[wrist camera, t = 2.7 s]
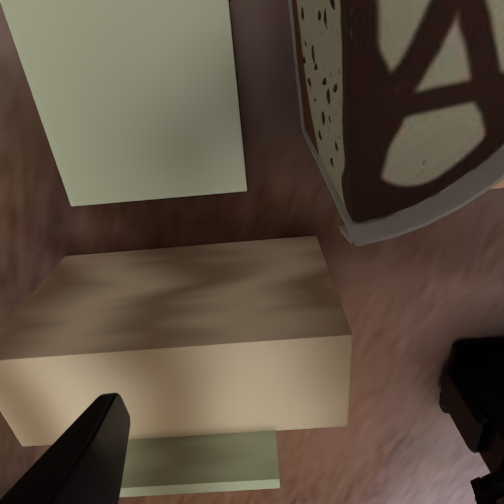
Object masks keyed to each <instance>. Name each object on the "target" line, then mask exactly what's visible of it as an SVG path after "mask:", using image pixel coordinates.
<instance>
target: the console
mask: <svg viewBox="0 0 504 504" xmlns="http://www.w3.org/2000/svg"><path fill="white" fill-rule="evenodd" d="M351 350H352V333H351V330H350V327H349V324H348V322H347V319H346V316H345V313H344V311H343V308H342V305H341V302H340V300H339V297H338V294H337V291H336V289H335V286H334V283H333V280H332V278H331V275H330V272H329V269H328V267H327V264H326V261H325V258H324V256H323V253H322V250H321V247H320V245H319V242H318V239H317V237H316V236H304V237H292V238H280V239H267V240H255V241H243V242H231V243H219V244H207V245H194V246H182V247H170V248H158V249H146V250H133V251H121V252H109V253H97V254H85V255H72V256H65V257H64V258H63V259H62V260H61V262H60V263H59V264H58V265H57V266H56V267H55V268H54V269H53V271H52V272H51V273H50V274H49V275H48V276H47V277H46V278H45V279H44V281H43V282H42V283H41V284H40V285H39V286H38V287H37V288H36V289H35V291H34V292H33V293H32V294H31V295H30V296H29V297H28V298H27V299H26V301H25V302H24V303H23V304H22V305H21V306H20V307H19V308H18V309H17V311H16V312H15V313H14V314H13V315H12V316H11V317H10V318H9V319H8V321H7V322H6V323H5V324H4V325H3V326H2V327H1V328H0V411H1V413H2V415H3V416H4V418H5V419H6V421H7V422H8V424H9V426H10V427H11V429H12V430H13V432H14V434H15V435H16V437H17V438H18V440H19V442H20V443H21V445H22V446H39V445H52V444H53V443H54V442H55V441H56V440H57V439H58V438H59V437H60V436H61V435H62V434H63V433H64V432H65V431H66V430H67V429H68V428H69V427H70V425H71V424H72V423H73V422H74V421H75V420H76V419H77V418H78V417H79V416H80V415H81V414H82V413H83V412H84V411H85V410H86V409H87V408H88V407H89V406H90V404H91V403H92V402H93V401H94V400H95V399H96V398H97V397H98V396H100V395H102V394H107V393H119V394H120V395H121V397H122V399H123V402H124V404H125V406H126V408H127V410H128V413H129V415H130V431H129V438H128V445H127V452H126V458H125V465H124V472H123V478H122V485H121V491H120V496H119V497H132V496H150V495H167V494H185V493H202V492H220V491H237V490H255V489H272V488H280V480H279V466H278V451H277V437H276V431H277V430H293V429H309V428H325V427H340V426H347V421H348V404H349V386H350V368H351Z"/></svg>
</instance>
